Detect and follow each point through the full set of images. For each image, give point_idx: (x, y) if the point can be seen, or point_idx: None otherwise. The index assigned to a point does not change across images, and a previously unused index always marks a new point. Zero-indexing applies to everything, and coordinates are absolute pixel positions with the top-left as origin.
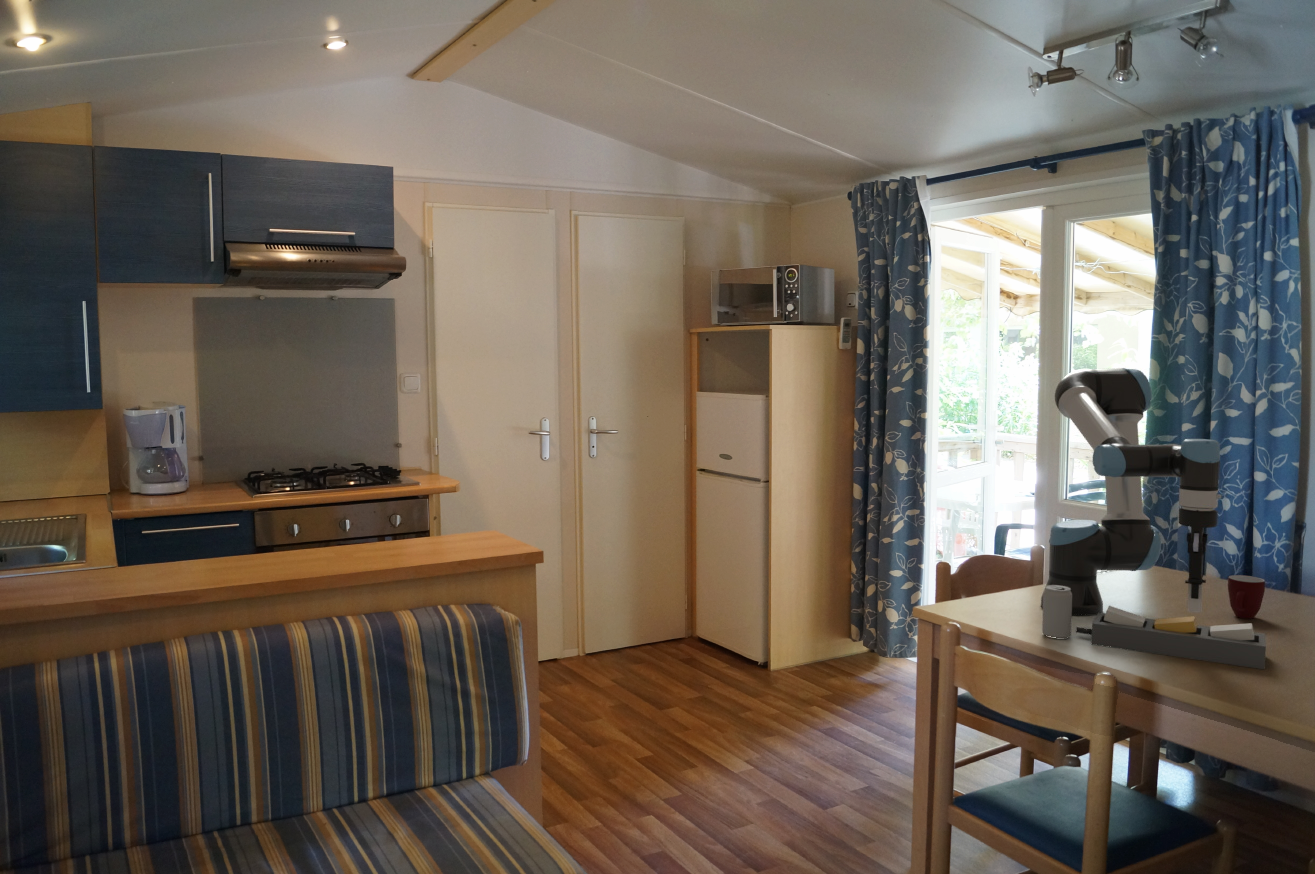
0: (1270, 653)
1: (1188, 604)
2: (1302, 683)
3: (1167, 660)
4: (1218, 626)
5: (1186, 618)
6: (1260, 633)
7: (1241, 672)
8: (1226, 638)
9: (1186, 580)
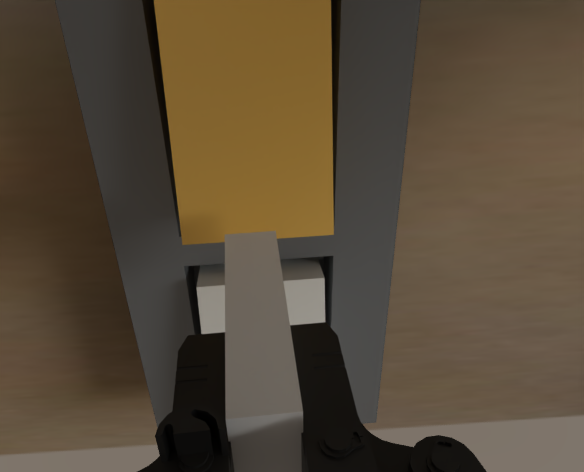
0: (400, 362)
1: (227, 273)
2: (87, 445)
3: (5, 52)
4: (301, 315)
5: (282, 191)
6: (371, 411)
7: (69, 319)
8: (191, 332)
9: (206, 438)
